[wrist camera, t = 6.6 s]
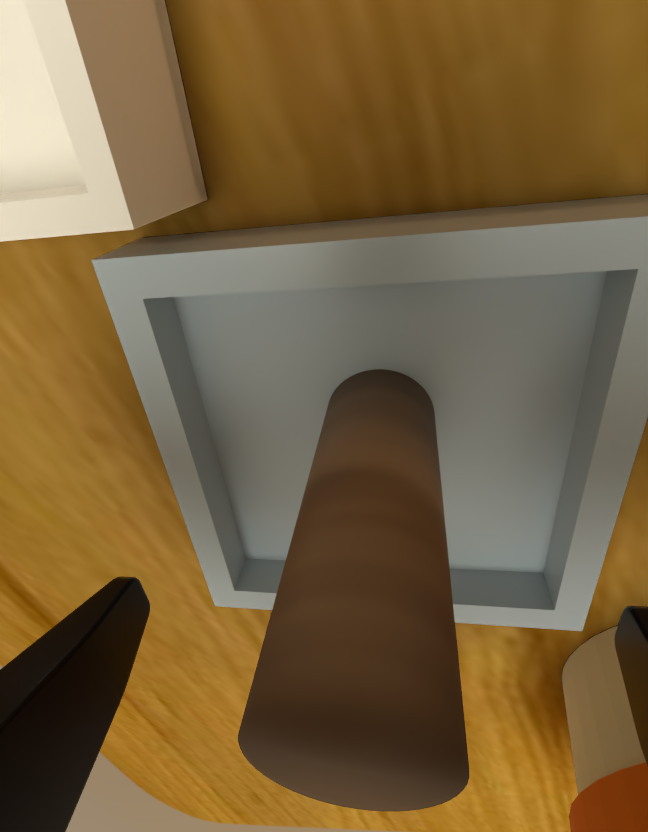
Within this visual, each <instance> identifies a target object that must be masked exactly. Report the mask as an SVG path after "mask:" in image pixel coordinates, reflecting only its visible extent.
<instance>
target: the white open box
mask: <svg viewBox="0 0 648 832" xmlns="http://www.w3.org/2000/svg"><path fill="white" fill-rule="evenodd" d="M206 200H208V199H207V194H206V190H205V185H204V180H203V176H202V171H201V166H200V162H199V157H198V152H197V148H196V143H195V138H194V134H193V129H192V125H191V120H190V115H189V111H188V106H187V101H186V97H185V92H184V87H183V83H182V78H181V73H180V69H179V64H178V60H177V55H176V50H175V46H174V41H173V36H172V32H171V27H170V22H169V18H168V13H167V8H166V4H165V0H0V242H1V241H12V240H24V239H35V238H46V237H57V236H68V235H79V234H90V233H101V232H112V231H123V230H134V229H137V228H139V227H142V226H144V225H146V224H149V223H151V222H154V221H156V220H159V219H161V218H164V217H166V216H169V215H171V214H174V213H176V212H178V211H181V210H183V209H186V208H188V207H191V206H193V205H196V204H198V203H201V202H203V201H206Z"/></svg>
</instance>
